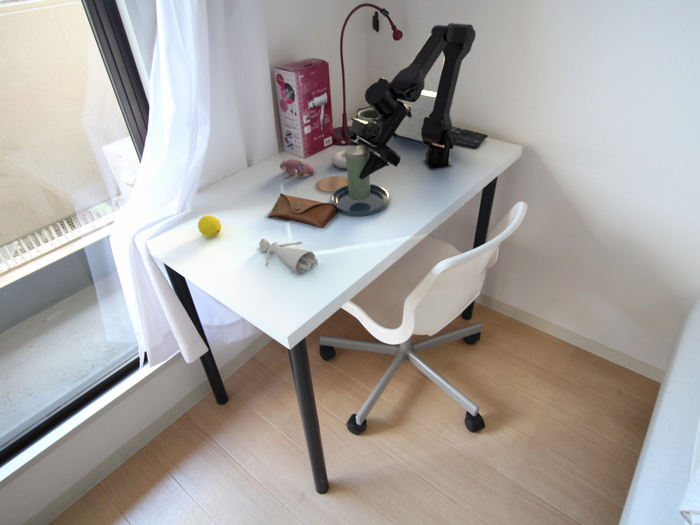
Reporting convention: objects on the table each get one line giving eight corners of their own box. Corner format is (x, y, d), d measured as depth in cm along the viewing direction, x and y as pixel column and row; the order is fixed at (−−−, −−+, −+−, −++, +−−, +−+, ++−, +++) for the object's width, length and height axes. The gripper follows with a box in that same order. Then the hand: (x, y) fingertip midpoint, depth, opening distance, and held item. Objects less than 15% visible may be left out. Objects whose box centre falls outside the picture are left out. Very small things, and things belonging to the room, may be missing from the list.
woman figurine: (292, 270, 90) (240, 246, 100) (296, 287, 92) (244, 262, 103) (330, 244, 97) (277, 224, 107) (332, 261, 99) (280, 239, 110)
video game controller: (283, 178, 138) (275, 164, 132) (288, 167, 140) (281, 152, 134) (311, 182, 135) (304, 168, 129) (316, 170, 137) (309, 156, 130)
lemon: (196, 235, 112) (190, 217, 108) (214, 226, 115) (208, 208, 111) (211, 244, 108) (205, 226, 104) (229, 235, 111) (224, 217, 107)
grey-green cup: (357, 143, 154) (356, 109, 146) (385, 140, 154) (385, 107, 147) (361, 155, 145) (360, 119, 138) (391, 152, 146) (391, 116, 139)
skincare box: (450, 142, 150) (454, 95, 140) (441, 147, 147) (445, 99, 137) (402, 129, 162) (403, 85, 152) (393, 134, 159) (393, 89, 149)
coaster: (347, 176, 134) (346, 174, 133) (353, 190, 126) (353, 188, 125) (315, 180, 132) (314, 178, 132) (319, 195, 125) (319, 193, 124)
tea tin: (367, 187, 121) (366, 143, 113) (373, 198, 116) (371, 152, 108) (346, 191, 120) (343, 146, 112) (350, 201, 116) (347, 156, 108)
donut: (362, 170, 136) (365, 157, 144) (362, 160, 134) (364, 147, 142) (331, 171, 137) (335, 157, 145) (330, 161, 135) (334, 147, 143)
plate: (380, 186, 127) (380, 179, 126) (395, 212, 115) (395, 206, 113) (327, 193, 125) (326, 187, 124) (336, 222, 113) (335, 215, 111)
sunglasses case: (265, 216, 116) (268, 191, 115) (279, 217, 122) (282, 193, 121) (324, 229, 109) (328, 202, 108) (335, 228, 116) (339, 204, 115)
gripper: (348, 96, 112) (316, 148, 115) (390, 115, 99) (352, 172, 102) (374, 119, 120) (343, 167, 122) (416, 139, 107) (380, 192, 109)
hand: (353, 174), depth 114 cm, fingers closed on tea tin, 6 cm apart
